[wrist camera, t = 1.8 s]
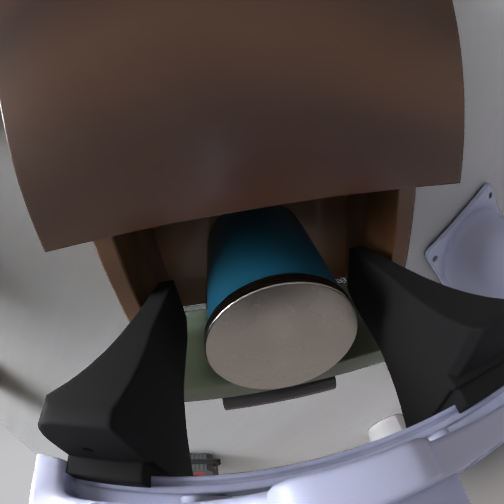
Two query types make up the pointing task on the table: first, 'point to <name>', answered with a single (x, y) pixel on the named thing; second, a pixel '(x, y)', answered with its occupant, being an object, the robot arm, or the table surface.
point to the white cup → (387, 427)
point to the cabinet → (222, 106)
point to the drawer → (195, 279)
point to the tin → (272, 302)
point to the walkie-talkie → (204, 464)
